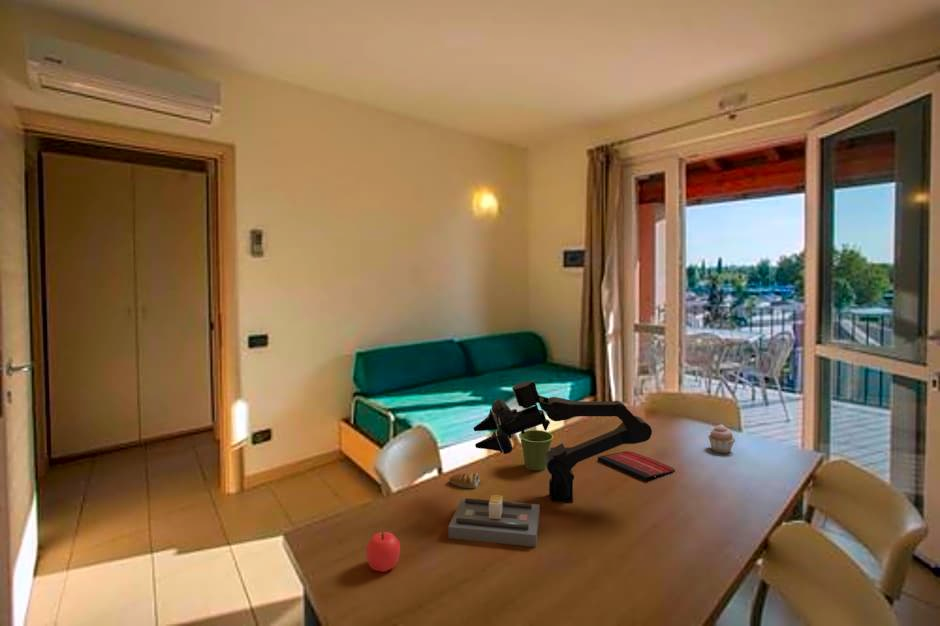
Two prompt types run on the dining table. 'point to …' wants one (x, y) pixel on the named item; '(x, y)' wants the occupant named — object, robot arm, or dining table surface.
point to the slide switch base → (495, 523)
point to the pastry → (465, 480)
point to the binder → (636, 465)
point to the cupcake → (721, 439)
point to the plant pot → (535, 448)
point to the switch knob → (495, 506)
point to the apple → (383, 551)
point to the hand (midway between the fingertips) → (474, 437)
